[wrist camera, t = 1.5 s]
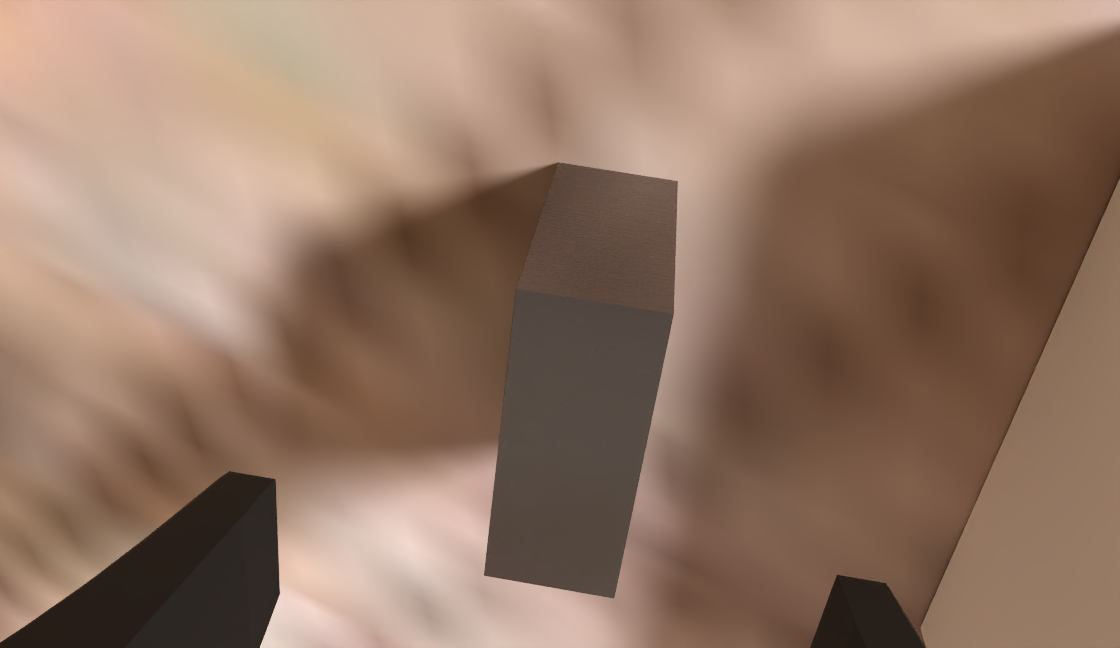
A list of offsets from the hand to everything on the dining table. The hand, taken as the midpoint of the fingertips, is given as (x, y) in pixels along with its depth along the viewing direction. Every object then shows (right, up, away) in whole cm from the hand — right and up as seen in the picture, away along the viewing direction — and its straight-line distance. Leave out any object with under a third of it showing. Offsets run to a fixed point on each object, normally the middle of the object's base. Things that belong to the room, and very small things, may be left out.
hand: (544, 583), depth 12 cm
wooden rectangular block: (+1, +4, +7) cm, 8 cm away
